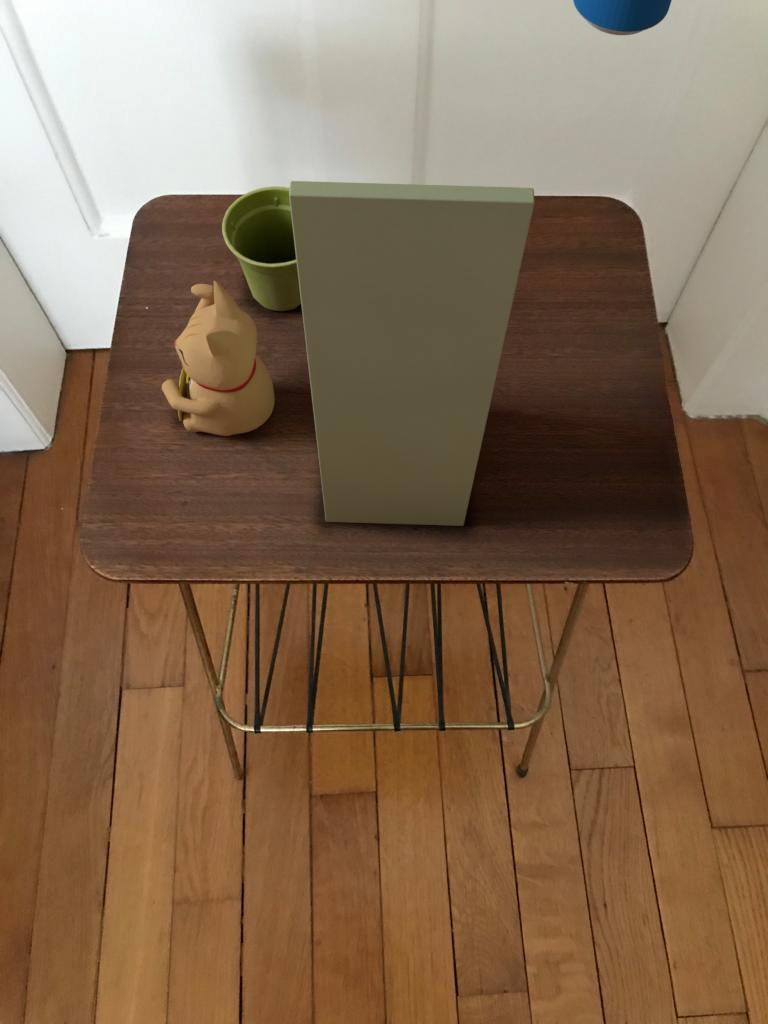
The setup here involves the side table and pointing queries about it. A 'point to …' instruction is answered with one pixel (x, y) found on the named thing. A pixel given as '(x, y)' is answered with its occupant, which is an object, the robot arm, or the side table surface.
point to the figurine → (220, 369)
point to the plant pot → (265, 246)
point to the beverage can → (622, 14)
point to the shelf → (404, 337)
